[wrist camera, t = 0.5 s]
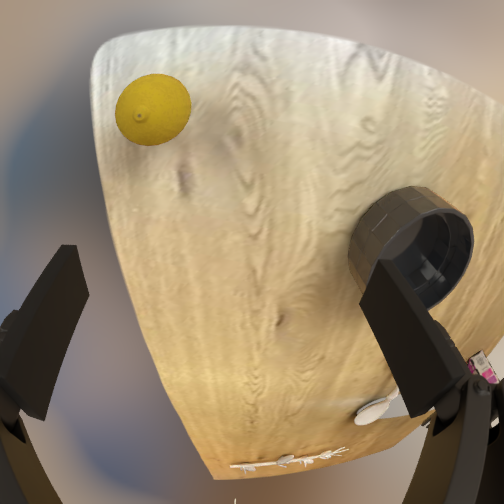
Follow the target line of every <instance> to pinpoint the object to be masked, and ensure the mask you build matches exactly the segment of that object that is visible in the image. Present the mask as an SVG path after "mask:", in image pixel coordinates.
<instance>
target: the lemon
mask: <svg viewBox="0 0 504 504" xmlns="http://www.w3.org/2000/svg"><path fill="white" fill-rule="evenodd" d="M190 113H191V100H190V95H189V93H188V91H187V89H186V87H185V86H184V85H183V84H182V83H181V82H180V81H179V80H177V79H175V78H173V77H172V76H168V75H164V74H150V75H146V76H142V77H140V78H138V79H137V80H135V81H133V82H132V83H131V84H129V85H128V86H127V87H126V88H125V89H124V91H123V92H122V94H121V95H120V97H119V99H118V102H117V104H116V110H115V118H116V123H117V126H118V128H119V130H120V131H121V133H122V134H123V135H124V136H125V137H126V138H127V139H128V140H130V141H132V142H134V143H136V144H139V145H145V146H152V145H159V144H162V143H165V142H168V141H169V140H171V139H173V138H174V137H176V136H177V135H178V134H179V133H180V132H181V131H182V130H183V129H184V127H185V125H186V124H187V122H188V120H189V116H190Z"/></svg>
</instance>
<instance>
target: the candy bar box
mask: <svg viewBox="0 0 504 504" xmlns="http://www.w3.org/2000/svg"><path fill="white" fill-rule="evenodd" d="M467 366H468V368H469V369H470V371H471V373H472V374H473V375H474V374H479V375H482V376H483V377H484V378H486V380H487V381H488V382H489V383H497V384H498V383H499V382H500V380H499V379H498V377H497V375H496V373H495V371H494V370H493V368H492V366H491V364H490V363H489V361H488V359H487V358H486V356H485V354H484V353H483V351H482V350H481V351H480V352H478V353H477V354H475V355H474V356H472V357H471V358H470V359H469V362H468V365H467Z"/></svg>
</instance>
